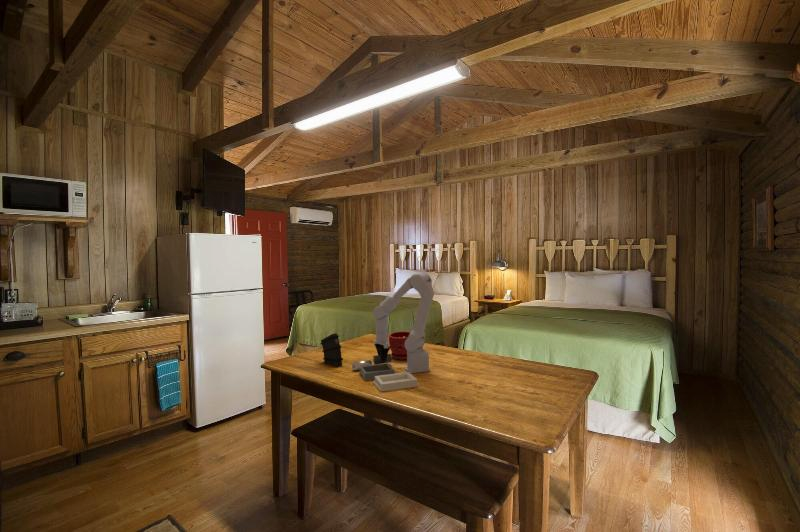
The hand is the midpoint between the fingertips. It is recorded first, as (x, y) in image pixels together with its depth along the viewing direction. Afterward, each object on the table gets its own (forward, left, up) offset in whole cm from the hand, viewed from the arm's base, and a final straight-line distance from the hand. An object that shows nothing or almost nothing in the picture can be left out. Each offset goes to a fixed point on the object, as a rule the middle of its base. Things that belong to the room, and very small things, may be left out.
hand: (382, 359), depth 181 cm
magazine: (+22, -12, -3) cm, 25 cm away
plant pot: (-13, -9, -3) cm, 16 cm away
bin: (+6, +12, -3) cm, 14 cm away
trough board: (+2, +26, -3) cm, 26 cm away
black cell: (0, 0, -2) cm, 2 cm away
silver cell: (+10, 0, -2) cm, 10 cm away
